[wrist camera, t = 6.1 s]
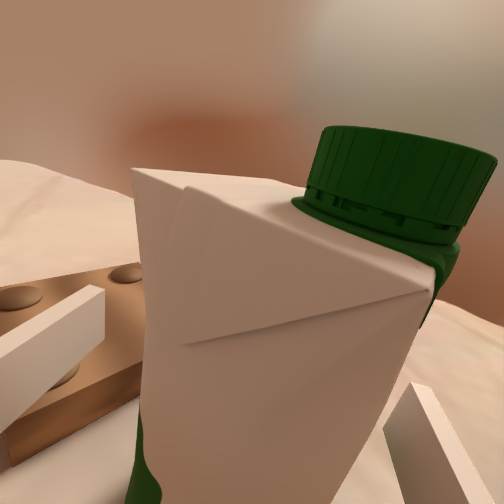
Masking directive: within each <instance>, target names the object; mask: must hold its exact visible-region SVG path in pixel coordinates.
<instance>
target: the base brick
mask: <svg viewBox="0 0 504 504" xmlns="http://www.w3.org/2000/svg"><path fill="white" fill-rule="evenodd" d="M89 284H90V285H93V286H96V287H100V288H103V289H105V339H104V340H103V341H102V342H101V343H99V344H98V345H97V346H96V347H95V348H94V349H93V350H92V351H91V352H90V353H88V354H87V355H86V356H85V357H84V358H83V359H82V360H81V361H80V362H79V363H78V364H76V365H75V366H74V367H73V368H72V369H71V370H70V371H69V372H68V373H67V374H65V375H64V376H63V377H62V378H61V379H60V380H59V381H58V382H57V383H56V384H54V385H53V386H52V387H51V388H50V389H49V390H48V391H47V392H46V393H45V394H43V395H42V396H41V397H40V398H39V399H38V400H37V401H36V402H35V403H34V404H32V405H31V406H30V407H29V408H28V409H27V410H26V411H25V412H24V413H23V414H21V415H20V416H19V417H18V418H17V419H16V420H15V421H14V422H13V423H12V424H10V425H9V426H8V427H7V428H6V429H5V430H4V431H3V432H4V437H5V441H6V445H7V449H8V453H9V457H10V461H11V465H12V467H14V466H16V465H17V464H19V463H21V462H23V461H24V460H26V459H28V458H30V457H31V456H33V455H35V454H37V453H38V452H40V451H42V450H44V449H46V448H47V447H49V446H51V445H53V444H54V443H56V442H58V441H60V440H61V439H63V438H65V437H67V436H68V435H70V434H72V433H74V432H76V431H77V430H79V429H81V428H83V427H84V426H86V425H88V424H90V423H91V422H93V421H95V420H97V419H99V418H100V417H102V416H104V415H106V414H107V413H109V412H111V411H113V410H114V409H116V408H118V407H120V406H121V405H123V404H125V403H127V402H129V401H130V400H132V399H134V398H136V397H137V396H139V395H140V391H141V379H142V366H143V354H144V341H145V327H146V319H145V301H144V290H143V280H142V271H141V264H140V263H139V262H137V263H132V264H126V265H120V266H115V267H109V268H104V269H98V270H93V271H87V272H82V273H76V274H71V275H65V276H60V277H54V278H48V279H43V280H37V281H32V282H26V283H21V284H15V285H10V286H4V287H0V337H1V336H3V335H4V334H6V333H8V332H9V331H11V330H13V329H15V328H16V327H18V326H20V325H21V324H23V323H25V322H26V321H28V320H30V319H31V318H33V317H35V316H37V315H38V314H40V313H42V312H43V311H45V310H47V309H48V308H50V307H52V306H54V305H55V304H57V303H59V302H60V301H62V300H64V299H65V298H67V297H69V296H70V295H72V294H74V293H76V292H77V291H79V290H81V289H82V288H84V287H86V286H87V285H89Z"/></svg>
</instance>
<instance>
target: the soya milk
mask: <svg viewBox="0 0 504 504" xmlns="http://www.w3.org/2000/svg"><path fill="white" fill-rule="evenodd" d="M497 162H498V160H497V158H495V157H494V156H492V155H490V154H488V153H486V152H483V151H480V150H477V149H474V148H471V147H467V146H464V145H460V144H456V143H452V142H448V141H444V140H439V139H435V138H430V137H425V136H419V135H415V134H409V133H403V132H397V131H391V130H384V129H376V128H368V127H358V126H328V127H326V128H324V130H323V131H322V134H321V138H320V141H319V144H318V148H317V151H316V154H315V158H314V161H313V164H312V168H311V171H310V175H309V178H308V180H307V187H306V188H301V187H295V186H292V185H288V184H285V183H282V182H278V181H275V180H272V179H263V178H250V177H238V176H227V175H215V174H203V173H191V172H179V171H167V170H155V169H143V168H131V169H130V170H131V177H132V185H133V194H134V204H135V214H136V223H137V232H138V242H139V251H140V261H141V271H142V280H143V290H144V301H145V319H146V327H145V341H144V354H143V366H142V379H141V391H140V404H139V416H138V428H137V440H136V452H135V462H134V466H133V470H132V475H131V479H130V483H129V488H128V492H127V496H126V500H125V504H330V503H331V501H332V500H333V498H334V496H335V495H336V493H337V491H338V489H339V488H340V486H341V484H342V482H343V481H344V479H345V477H346V476H347V474H348V472H349V470H350V469H351V467H352V465H353V463H354V462H355V460H356V458H357V456H358V455H359V453H360V451H361V450H362V448H363V446H364V444H365V443H366V441H367V439H368V437H369V436H370V434H371V432H372V430H373V428H374V426H375V424H376V422H377V420H378V418H379V416H380V414H381V412H382V411H383V409H384V407H385V405H386V403H387V400H388V398H389V396H390V394H391V391H392V389H393V387H394V384H395V382H396V380H397V377H398V375H399V373H400V370H401V368H402V366H403V363H404V361H405V359H406V356H407V354H408V352H409V350H410V347H411V345H412V343H413V340H414V338H415V336H416V333H417V331H418V329H420V328H421V326H422V324H423V323H424V321H425V319H426V317H427V315H428V313H429V310H430V308H431V306H432V304H433V302H434V300H435V298H436V296H437V293H438V291H439V289H440V288H441V287H442V286H443V284H444V283H445V281H446V280H447V278H448V277H449V275H450V273H451V271H452V270H453V267H454V265H455V263H456V261H457V258H458V255H459V251H460V246H459V244H458V243H457V242H456V239H457V237H458V235H459V233H460V232H461V230H462V228H463V226H466V224H467V221H468V219H469V217H470V215H471V213H472V212H473V210H474V208H475V206H476V204H477V202H478V200H479V198H480V196H481V195H482V193H483V191H484V189H485V187H486V185H487V183H488V181H489V179H490V178H491V175H492V174H493V172H494V170H495V168H496V166H497Z"/></svg>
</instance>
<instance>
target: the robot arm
mask: <svg viewBox="0 0 504 504" xmlns="http://www.w3.org/2000/svg"><path fill="white" fill-rule="evenodd" d="M104 339H105V289H103V288H100V287H96V286H93V285H90V284H89V285H87V286H86V287H84V288H82V289H81V290H79V291H77V292H76V293H74V294H72V295H70V296H69V297H67V298H65V299H64V300H62V301H60V302H59V303H57V304H55V305H54V306H52V307H50V308H48V309H47V310H45V311H43V312H42V313H40V314H38V315H37V316H35V317H33V318H31V319H30V320H28V321H26V322H25V323H23V324H21V325H20V326H18V327H16V328H15V329H13V330H11V331H9V332H8V333H6V334H4V335H3V336H1V337H0V434H1V433H2V432H3V431H4V430H5V429H6V428H7V427H8V426H9V425H10V424H12V423H13V422H14V421H15V420H16V419H17V418H18V417H19V416H20V415H21V414H23V413H24V412H25V411H26V410H27V409H28V408H29V407H30V406H31V405H32V404H34V403H35V402H36V401H37V400H38V399H39V398H40V397H41V396H42V395H43V394H45V393H46V392H47V391H48V390H49V389H50V388H51V387H52V386H53V385H54V384H56V383H57V382H58V381H59V380H60V379H61V378H62V377H63V376H64V375H65V374H67V373H68V372H69V371H70V370H71V369H72V368H73V367H74V366H75V365H76V364H78V363H79V362H80V361H81V360H82V359H83V358H84V357H85V356H86V355H87V354H88V353H90V352H91V351H92V350H93V349H94V348H95V347H96V346H97V345H98V344H99V343H101V342H102V341H103V340H104ZM383 431H384V435H385V438H386V441H387V445H388V448H389V452H390V455H391V458H392V462H393V465H394V468H395V472H396V475H397V478H398V482H399V485H400V489H401V492H402V495H403V499H404V502H405V504H495V502H494V501H493V499H492V497H491V495H490V493H489V492H488V490H487V488H486V486H485V484H484V483H483V481H482V479H481V477H480V475H479V474H478V472H477V470H476V468H475V467H474V465H473V463H472V461H471V459H470V458H469V456H468V454H467V452H466V450H465V449H464V447H463V445H462V443H461V441H460V440H459V438H458V436H457V434H456V433H455V431H454V429H453V427H452V425H451V424H450V422H449V420H448V418H447V416H446V415H445V413H444V411H443V409H442V407H441V406H440V404H439V402H438V400H437V398H436V397H435V395H434V393H433V391H432V390H431V388H430V387H427V386H423V385H420V384H417V383H413V382H410V383H409V385H408V386H407V388H406V390H405V391H404V393H403V395H402V396H401V398H400V400H399V402H398V403H397V405H396V407H395V408H394V410H393V412H392V413H391V415H390V417H389V418H388V420H387V422H386V423H385V425H384V427H383Z"/></svg>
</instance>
